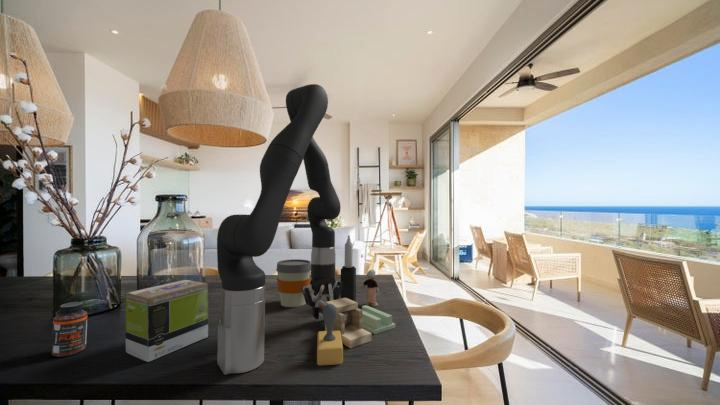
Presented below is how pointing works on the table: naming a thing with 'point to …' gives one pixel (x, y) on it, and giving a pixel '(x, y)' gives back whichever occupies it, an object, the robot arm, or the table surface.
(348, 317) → the axle
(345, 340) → the beige block
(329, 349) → the rubber stamp
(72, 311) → the supplement bottle
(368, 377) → the table surface
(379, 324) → the cradle
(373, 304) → the grandmother figurine
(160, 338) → the tea box
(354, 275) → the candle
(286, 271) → the reusable coffee cup
